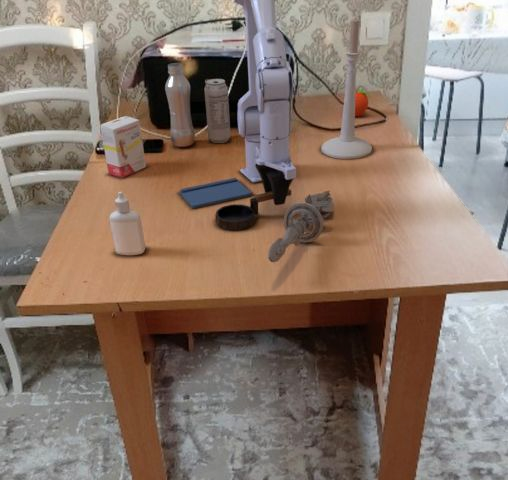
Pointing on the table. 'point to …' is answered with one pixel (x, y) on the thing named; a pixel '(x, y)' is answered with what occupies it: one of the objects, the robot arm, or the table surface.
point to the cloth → (214, 193)
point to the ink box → (123, 146)
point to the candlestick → (349, 110)
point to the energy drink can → (217, 110)
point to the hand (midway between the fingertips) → (275, 200)
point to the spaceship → (302, 223)
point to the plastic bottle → (179, 106)
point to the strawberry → (360, 102)
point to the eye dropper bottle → (126, 228)
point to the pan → (241, 213)
